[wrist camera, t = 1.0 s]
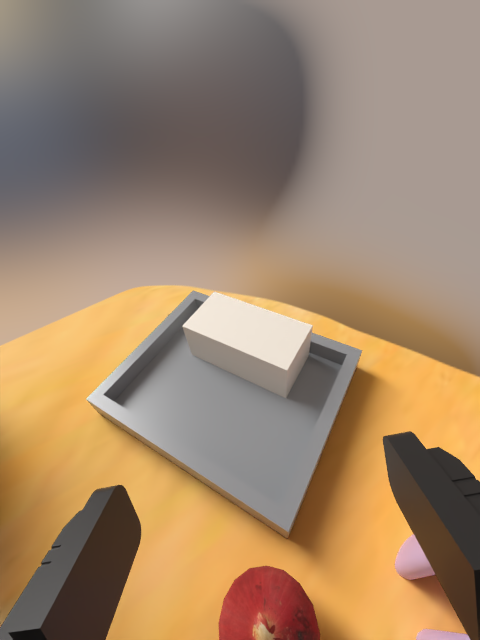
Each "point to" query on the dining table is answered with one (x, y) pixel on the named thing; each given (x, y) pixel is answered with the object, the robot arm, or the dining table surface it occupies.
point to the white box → (249, 342)
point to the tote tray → (229, 417)
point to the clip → (416, 566)
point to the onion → (267, 608)
